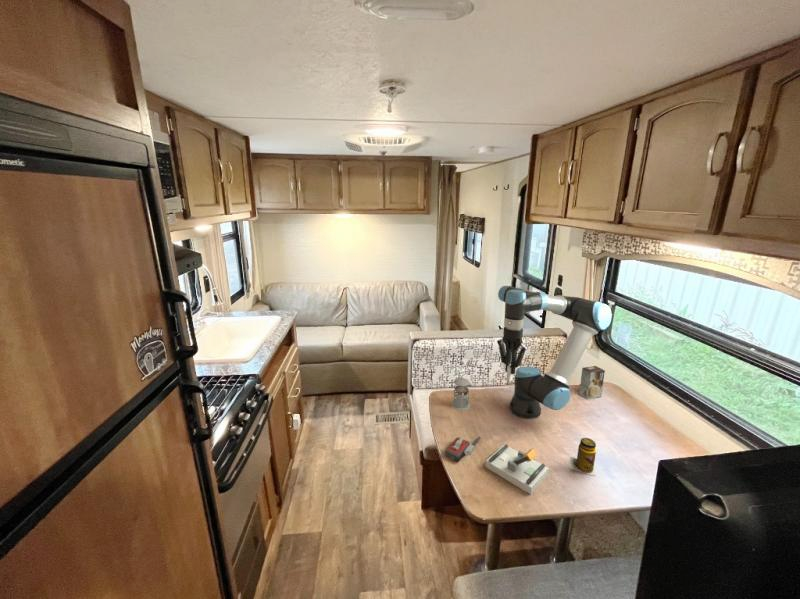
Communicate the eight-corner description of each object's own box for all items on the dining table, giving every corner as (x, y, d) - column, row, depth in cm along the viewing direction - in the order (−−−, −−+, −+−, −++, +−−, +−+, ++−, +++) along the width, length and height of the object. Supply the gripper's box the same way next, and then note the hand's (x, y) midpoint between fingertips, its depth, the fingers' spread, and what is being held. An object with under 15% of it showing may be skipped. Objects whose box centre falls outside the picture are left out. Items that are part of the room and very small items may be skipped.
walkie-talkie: (461, 467, 136) (481, 440, 152) (462, 457, 135) (482, 432, 151) (442, 458, 141) (464, 433, 157) (442, 449, 140) (464, 425, 156)
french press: (449, 408, 177) (450, 364, 170) (454, 397, 187) (456, 355, 181) (468, 412, 173) (470, 367, 167) (472, 400, 183) (474, 358, 177)
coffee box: (592, 391, 191) (596, 365, 187) (601, 397, 185) (605, 370, 181) (578, 393, 189) (582, 367, 185) (587, 399, 183) (591, 372, 179)
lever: (517, 455, 136) (534, 447, 129) (521, 460, 135) (538, 453, 128) (509, 462, 132) (526, 455, 125) (513, 468, 131) (530, 461, 124)
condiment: (594, 476, 130) (598, 449, 127) (569, 468, 134) (573, 442, 131) (594, 464, 137) (598, 438, 134) (570, 457, 140) (574, 432, 138)
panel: (503, 450, 145) (504, 438, 143) (547, 474, 131) (549, 461, 130) (485, 467, 136) (486, 454, 134) (530, 494, 122) (532, 480, 121)
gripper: (494, 326, 141) (491, 377, 147) (523, 333, 132) (519, 388, 138) (503, 322, 146) (500, 372, 152) (532, 329, 137) (528, 382, 143)
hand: (509, 379), depth 145 cm, fingers closed
